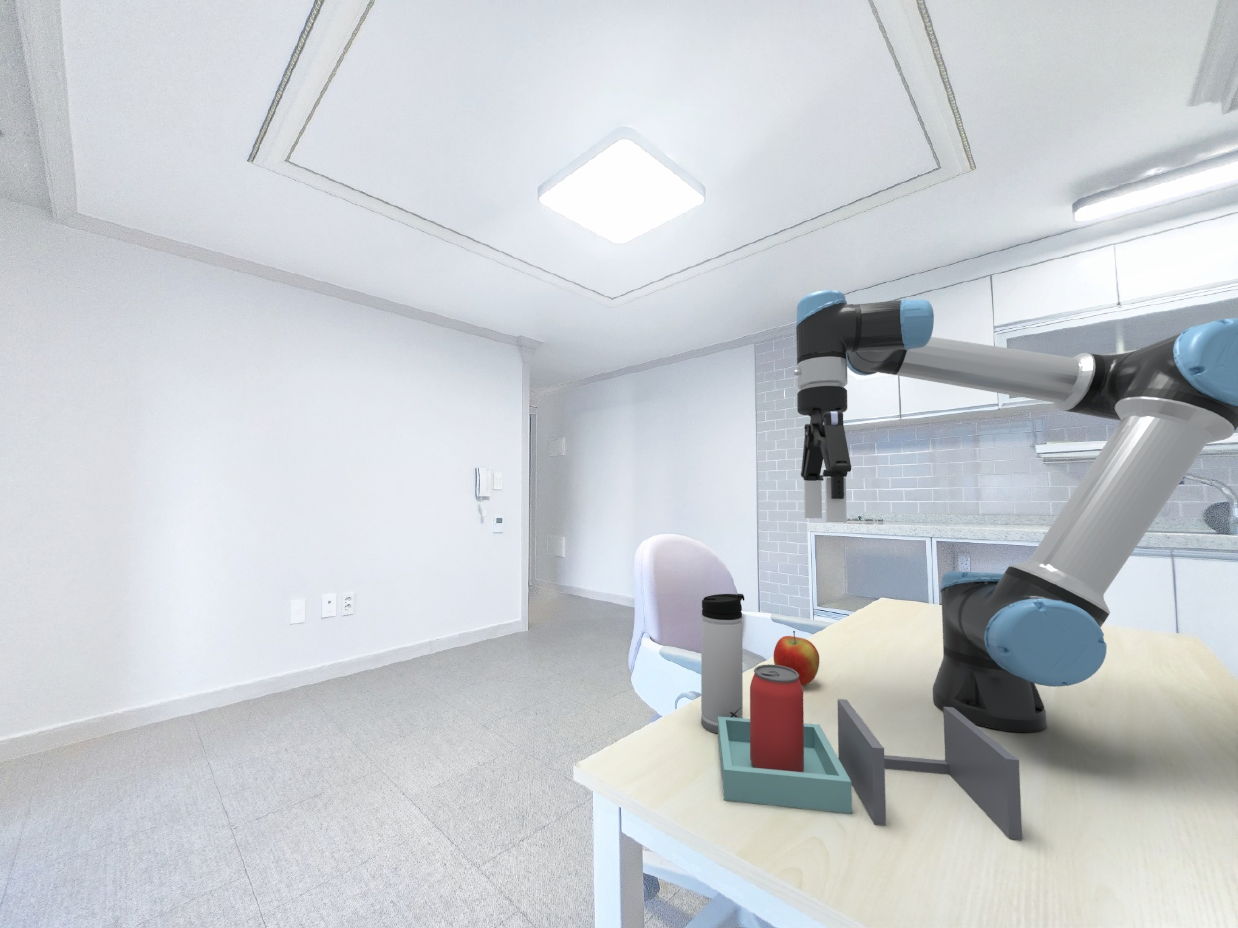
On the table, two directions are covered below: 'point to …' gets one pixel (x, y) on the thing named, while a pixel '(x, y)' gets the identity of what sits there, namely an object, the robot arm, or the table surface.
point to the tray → (783, 772)
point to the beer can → (776, 719)
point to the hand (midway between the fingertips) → (823, 520)
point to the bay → (935, 767)
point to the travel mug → (721, 659)
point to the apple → (797, 657)
